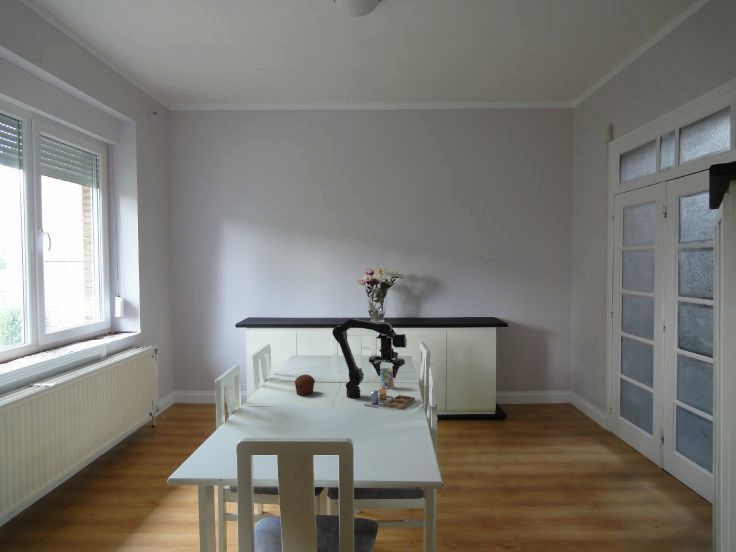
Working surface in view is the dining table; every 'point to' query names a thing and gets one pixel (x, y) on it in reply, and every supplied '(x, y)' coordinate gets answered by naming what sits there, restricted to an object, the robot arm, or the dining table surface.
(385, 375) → the mug
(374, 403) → the cylinder
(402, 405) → the tray
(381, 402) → the cradle
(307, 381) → the muffin
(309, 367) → the dining table surface
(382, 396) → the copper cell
